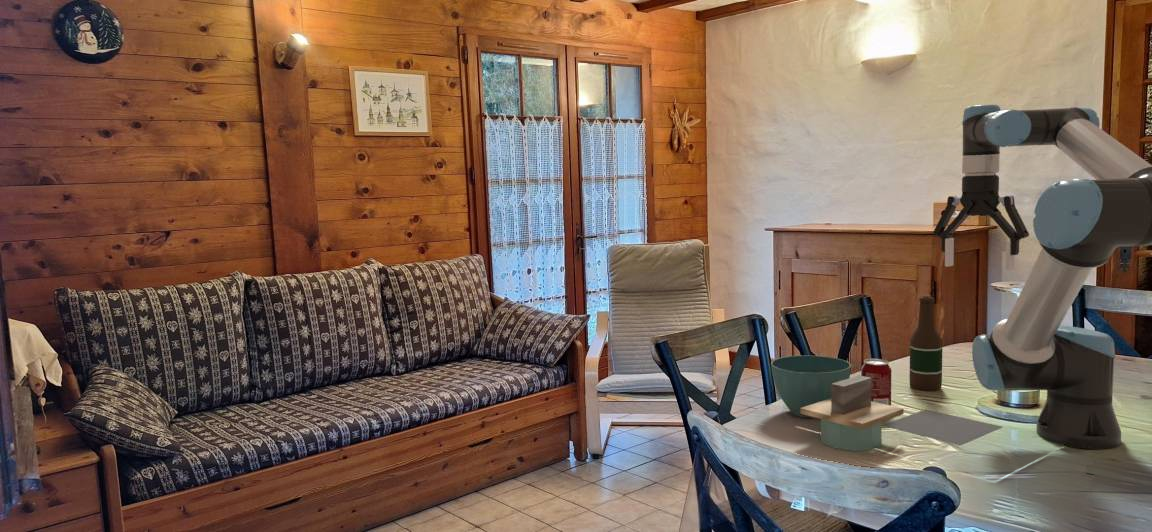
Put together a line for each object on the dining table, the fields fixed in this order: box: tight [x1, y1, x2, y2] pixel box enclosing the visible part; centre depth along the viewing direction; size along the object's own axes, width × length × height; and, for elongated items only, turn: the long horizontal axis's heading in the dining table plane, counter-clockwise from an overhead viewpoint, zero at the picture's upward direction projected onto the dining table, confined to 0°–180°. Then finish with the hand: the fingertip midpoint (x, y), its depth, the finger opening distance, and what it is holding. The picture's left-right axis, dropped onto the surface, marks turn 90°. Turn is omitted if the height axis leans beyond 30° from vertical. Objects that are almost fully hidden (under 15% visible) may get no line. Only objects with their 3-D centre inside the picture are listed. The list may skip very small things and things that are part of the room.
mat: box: [882, 409, 1003, 446], centre depth 178 cm, size 18×18×1 cm
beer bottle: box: [909, 296, 943, 392], centre depth 210 cm, size 8×8×24 cm
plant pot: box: [770, 354, 852, 419], centre depth 191 cm, size 18×18×12 cm
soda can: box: [860, 358, 892, 406], centre depth 192 cm, size 7×7×12 cm
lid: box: [800, 374, 905, 430], centre depth 171 cm, size 15×15×7 cm
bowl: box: [820, 419, 883, 452], centre depth 171 cm, size 12×12×6 cm
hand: (978, 267), depth 184 cm, fingers open, 13 cm apart
